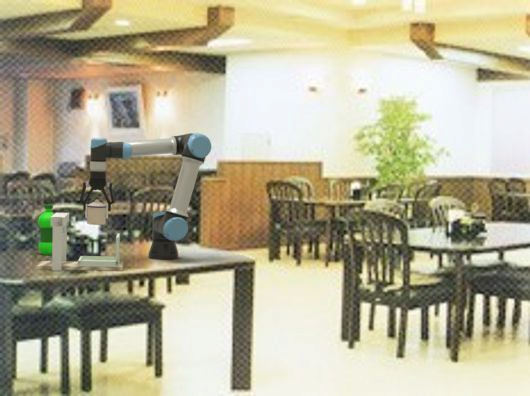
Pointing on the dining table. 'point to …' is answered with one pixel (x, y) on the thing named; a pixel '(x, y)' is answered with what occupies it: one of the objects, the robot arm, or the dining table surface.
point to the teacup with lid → (96, 213)
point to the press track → (76, 266)
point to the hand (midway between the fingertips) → (96, 218)
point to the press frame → (59, 239)
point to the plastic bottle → (46, 231)
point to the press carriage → (102, 258)
